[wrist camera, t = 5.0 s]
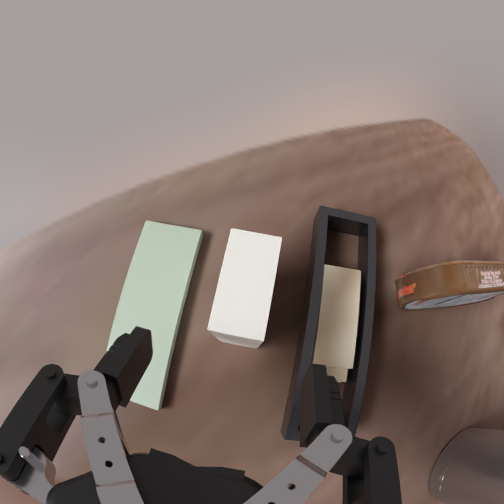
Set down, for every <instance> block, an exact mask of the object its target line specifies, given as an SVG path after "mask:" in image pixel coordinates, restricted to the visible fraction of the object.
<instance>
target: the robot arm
mask: <svg viewBox="0 0 504 504" xmlns="http://www.w3.org/2000/svg"><path fill="white" fill-rule="evenodd" d="M152 356H153V347H152V335H151V330H149V329H145V328H142V327H139V326H136V327H135V328H134V329H133V331H132V332H131V333H130V334H128V333H124V334H123V335H121V336H119V337H118V338H117V339H116V340H115V342H114V343H113V345H112V346H111V347H110V348H109V351H107V352H106V354H105V355H104V356H103V358H102V359H101V360H100V362H99V363H98V365H97V366H96V367H95V369H94V370H90V371H86V372H84V373H82V374H81V375H80V376H77V375H70V374H64V372H63V370H62V368H61V367H60V366H58V365H55V364H49V365H46V366H44V367H43V368H42V369H41V370H40V371H39V372H38V374H37V375H36V376H35V378H34V379H33V381H32V382H31V383H30V385H29V386H28V387H27V389H26V390H25V392H24V393H23V394H22V396H21V397H20V399H19V400H18V402H17V403H16V405H15V406H14V408H13V409H12V411H11V412H10V414H9V415H8V417H7V418H6V420H5V421H4V423H3V425H2V426H1V428H0V476H1V477H2V478H3V479H4V480H5V481H7V482H8V483H9V484H11V485H12V486H14V487H15V488H17V489H19V490H21V491H22V492H23V493H25V494H27V495H31V496H32V497H34V498H35V499H37V500H38V501H40V502H41V503H43V504H301V503H302V502H303V501H304V500H305V499H306V498H307V497H308V496H309V495H310V493H311V492H312V491H313V490H314V489H315V488H316V487H317V486H318V485H319V484H320V482H321V481H322V480H323V479H324V478H325V477H326V474H327V473H328V472H332V473H335V474H339V475H343V504H402V501H401V491H400V481H399V473H398V466H397V459H396V452H395V447H394V444H393V443H392V442H391V441H390V440H389V439H388V438H385V437H376V438H373V439H372V440H371V441H368V440H364V439H361V438H357V437H355V436H353V435H352V434H351V432H350V430H349V429H348V428H346V427H345V422H344V415H343V408H342V401H341V395H340V388H339V383H338V382H337V380H336V379H335V377H334V376H328V375H327V369H326V365H321V364H313V363H311V364H310V365H309V367H308V369H307V372H306V374H305V377H304V379H303V381H302V384H301V388H300V447H307V449H306V450H305V451H304V452H303V453H302V454H301V455H300V456H298V457H296V458H295V459H294V460H293V461H292V462H291V463H290V464H289V465H288V466H287V467H286V468H285V469H284V470H283V471H281V472H280V473H279V474H278V475H277V476H276V477H275V478H274V479H273V480H271V481H270V482H269V483H268V484H267V485H266V486H264V487H262V486H261V485H260V484H259V483H257V482H256V481H254V480H252V479H250V478H248V477H246V476H244V474H245V471H242V470H236V469H230V468H225V467H196V466H193V465H191V464H189V463H187V462H185V461H183V460H181V459H179V458H178V457H176V456H174V455H171V454H168V453H164V452H161V451H158V450H155V449H152V448H151V450H150V452H149V453H134V454H130V452H129V449H128V447H127V444H126V442H125V439H124V436H123V433H122V430H121V426H120V423H119V420H118V416H117V413H116V409H117V407H118V405H120V406H123V407H125V408H126V406H127V404H128V402H129V401H130V399H131V397H132V395H133V393H134V391H135V389H136V388H137V386H138V384H139V382H140V380H141V378H142V377H143V375H144V373H145V371H146V369H147V368H148V366H149V364H150V362H151V360H152ZM76 415H82V417H80V420H81V426H82V431H83V436H84V441H85V445H86V449H87V454H88V457H89V461H90V465H91V469H92V471H90V472H88V473H85V474H83V475H80V476H77V477H75V478H72V479H69V480H67V481H64V482H61V483H58V484H56V485H55V481H54V480H55V474H56V469H55V466H54V464H53V463H52V461H53V459H54V457H55V455H56V453H57V451H58V449H59V447H60V445H61V443H62V441H63V439H64V437H65V435H66V433H67V431H68V430H69V428H70V426H71V424H72V422H73V420H74V418H75V416H76ZM429 489H430V492H431V494H432V496H434V497H435V498H437V499H439V500H441V501H443V502H445V503H447V504H504V430H495V429H483V428H474V427H472V428H468V429H466V430H464V431H462V432H460V433H459V434H458V435H456V436H455V437H454V438H453V439H452V440H451V441H450V442H449V443H448V445H447V446H446V447H445V448H444V450H443V451H442V453H441V454H440V456H439V457H438V459H437V461H436V463H435V465H434V467H433V470H432V472H431V476H430V481H429Z"/></svg>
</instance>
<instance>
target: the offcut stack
mask: <svg viewBox="0 0 504 504" xmlns="http://www.w3.org/2000/svg"><path fill="white" fill-rule="evenodd" d="M360 283H361V271H360V270H354V269H349V268H343V267H337V266H332V265H326V264H325V265H324V271H323V281H322V290H321V298H320V306H319V314H318V321H317V328H316V335H315V342H314V348H313V354H312V360H311V363H313V364H321V365H326V369H327V375H328V376H334V377H335V379H336V380H337V382H346V379H347V372H348V369H353V362H354V355H355V346H356V337H357V327H358V315H359V301H360Z"/></svg>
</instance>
